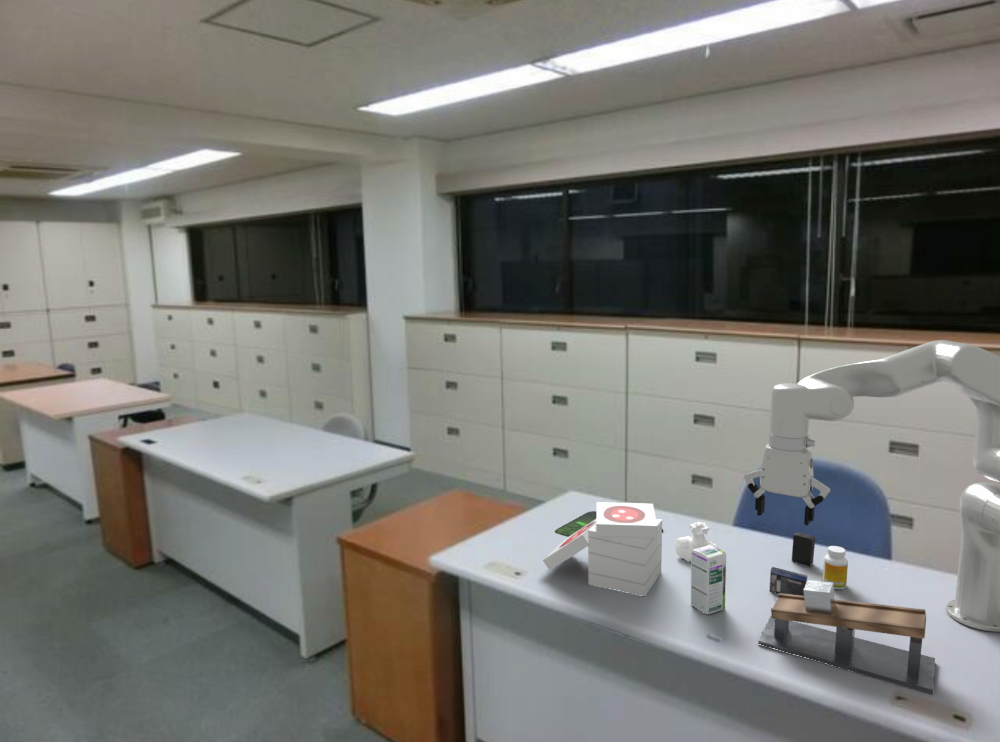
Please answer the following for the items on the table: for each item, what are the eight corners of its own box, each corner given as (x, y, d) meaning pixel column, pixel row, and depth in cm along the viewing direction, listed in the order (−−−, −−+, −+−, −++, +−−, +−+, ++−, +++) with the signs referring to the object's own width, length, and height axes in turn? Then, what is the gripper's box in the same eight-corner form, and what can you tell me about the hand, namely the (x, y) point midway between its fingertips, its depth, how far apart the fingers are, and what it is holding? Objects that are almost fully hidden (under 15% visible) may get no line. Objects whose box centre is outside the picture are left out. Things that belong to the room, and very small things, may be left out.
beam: (926, 620, 138) (925, 608, 137) (924, 642, 130) (923, 630, 130) (780, 603, 154) (779, 592, 153) (771, 621, 146) (770, 610, 146)
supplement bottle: (849, 591, 169) (851, 554, 167) (825, 589, 170) (828, 553, 168) (842, 580, 174) (845, 545, 172) (820, 579, 175) (822, 543, 173)
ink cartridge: (813, 564, 183) (815, 536, 182) (810, 567, 182) (812, 539, 180) (794, 558, 187) (796, 531, 185) (791, 561, 185) (793, 534, 184)
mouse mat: (551, 533, 208) (551, 530, 208) (590, 511, 225) (590, 508, 225) (629, 557, 191) (629, 553, 191) (665, 531, 208) (665, 528, 207)
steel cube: (835, 605, 145) (833, 582, 145) (831, 615, 141) (829, 592, 140) (810, 602, 148) (807, 580, 147) (805, 612, 144) (803, 589, 143)
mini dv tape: (769, 591, 170) (770, 569, 169) (771, 589, 171) (772, 566, 170) (804, 601, 165) (805, 577, 164) (806, 598, 166) (807, 575, 165)
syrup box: (707, 616, 159) (709, 558, 156) (689, 604, 164) (691, 548, 162) (725, 609, 162) (727, 552, 159) (707, 598, 167) (709, 543, 164)
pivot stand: (934, 662, 139) (937, 627, 138) (932, 694, 130) (936, 657, 128) (770, 619, 157) (772, 588, 156) (758, 644, 147) (759, 611, 146)
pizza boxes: (567, 549, 196) (567, 489, 193) (671, 570, 182) (672, 506, 178) (538, 577, 180) (537, 513, 176) (650, 603, 165) (651, 533, 162)
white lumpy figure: (719, 571, 185) (726, 531, 189) (713, 564, 179) (721, 523, 184) (675, 561, 192) (684, 523, 196) (669, 554, 186) (678, 515, 190)
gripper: (836, 444, 142) (830, 521, 145) (751, 432, 152) (747, 505, 155) (829, 453, 136) (823, 533, 139) (741, 440, 146) (737, 515, 149)
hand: (783, 518), depth 147 cm, fingers open, 9 cm apart
